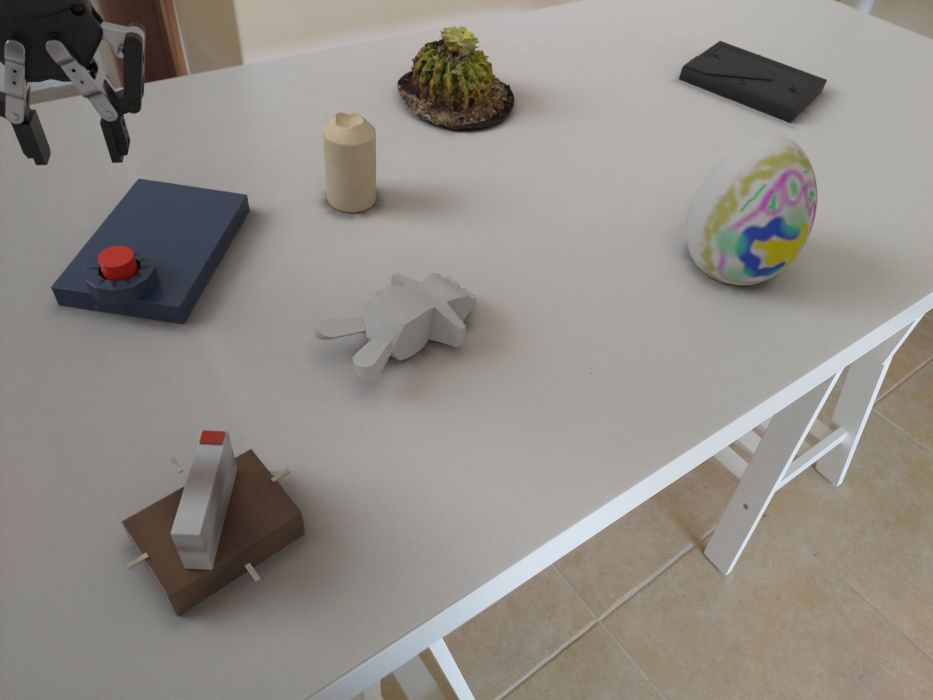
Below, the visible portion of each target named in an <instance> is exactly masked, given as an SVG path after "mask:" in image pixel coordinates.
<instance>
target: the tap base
mask: <svg viewBox="0 0 933 700" xmlns="http://www.w3.org/2000/svg"><path fill="white" fill-rule="evenodd" d="M235 461H236V465H237V473H236V477H235V481H234V485H233V489H232V493H231V497H230V501H229V505H228V509H227V513H226V517H225V521H224V525H223V529H222V533H221V537H220V541H219V545H218V549H217V553H216V557H215V561H214V565H213V569H212V570H206V569H185V568H184V565H183V563H182V560H181V558H180V556H179V553H178V551H177V548H176V546H175V544H174V541H173V539H172V536H171V534H170V533H171V530H172V527H173V524H174V520H175V517H176V514H177V510H178V507H179V504H180V501H181V497H182V494H183V491H184V488H185V485H184V486H182V487H181V488H178V489H177V490H174V491H173V492H171V493H169V494H168V495H166V496H165V497H162V498H161V499H159V500H157V501H155V502H154V503H152V504H150V505H148V506H146V507H145V508H143V509H141V510H139V511H138V512H136V513H134V514H132V515H130V516H129V517H127V518H125V519H123V520H122V521H121V525H122V527H123V528H124V531H125V532H126V535H127V537H128V539H129V540H130V543H131V544H132V546H133V548H134V549H135V551H136V553H137V554H138V557H136V558H134V559H133V560H131V561H129V562H128V563H126V564H125V566H126V568H127V570H130V569H132V568H134V567H135V566H137V565H139V564H140V563H143V564H144V566H145V567H146V569H147V570H148V572H149V573H150V575H151V577H152V578H153V581H154V582H155V583H156V585H157V587H158V588H159V590H160V591H161V593H162V595H163V596H164V598H165V600H166V601H167V603H168V604H169V606H170V608H171V609H172V611H173V613H174V614H175V616H176V617H179V616H180V615H182V614H183V613H185V612H187V611H188V610H190V609H191V608H192V607H194V606H196V605H197V604H199V603H200V602H202V601H204V600H205V599H206V598H208V597H209V596H212V594H214V593H216V592H217V591H219V590H220V589H222V588H223V587H225V586H226V585H228V584H230V583H231V582H232V581H234V580H236V579H237V578H239V577H241V576H242V575H243V574H245V573H247V572H248V573H249V575H250V576H251V578H252V579H253V580H254V582H255V583H257V582H258V581H260V580H261V577H260V575H259V574H258V573H257V571H256V569H255V568H254V567H256V566H257V565H259V564H260V563H262V562H263V561H265V560H266V559H268V558H269V557H271V556H272V555H274V554H276V553H277V552H279V551H280V550H282V549H283V548H285V547H287V546H288V545H289V544H291V543H293V542H294V541H296V540H298V539H299V538H300V537H303V535H305V534H306V532H305V525H304V518H303V512H302V511H301V509H300V508H299V506H298V505H297V504H296V503H295V502H294V500H293V499H292V498H291V497H290V495H289V494H288V493H287V492H286V491H285V489H284V488H283V486H282V485H281V484H280V483H279V482H278V481H279V480H281V479H282V478H284V477H286V476H288V475H289V474H291V471H290V470H289V468H286V469H285V470H283V471H281V472H279V473H277V474H276V475H273V474H272V473H271V471H269V469H268V468H267V467H266V465H265V464H264V463H263V462H262V460H261V459H260V458H259V457H258V455H257V454H256V453H255V452H254V450H253V449H252V448H250V449H248V450H246V451H245V452H243V453H241V454H239V455H238V456H236V457H235ZM169 462H170V463H171V464H172V466H173V467H174V469H175V471H177V473H178V474H180V473H182V472H184V469H183V467H182V466H181V464H179V462H178V460H177V459H176V457H172V458H170V459H169Z"/></svg>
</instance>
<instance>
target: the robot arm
mask: <svg viewBox="0 0 933 700" xmlns="http://www.w3.org/2000/svg"><path fill="white" fill-rule="evenodd" d="M146 34H147V33H146V28H145V27H144V25H142V24H141V23H140V22H137V21H132V22H130V23H129V24H128V25H127V26H126V25H121V24H118V23H112V22H108V21H104V19H103V17H102V16H101V14H100V13H99V12H98V11H97V10H96V9H95V7H94V5H93V4H92V1H91V0H0V63H1V64H2V65H3V66H4V80H3V81H4V85H3V89H4V90H3V91H1V90H0V117H1V118H3V119H5V120H6V121H8V122H9V123H10V125H11V127H12V129H13V132H14V134H15V137H16V140H17V141H18V144H19V146H20V149H21V151H22V154H24V156H25V157H26V158H27V159H33V161H34V164H35V165H36V166H48V164H49V162H50V158H51V155H52V152H51V147H50V144H49V142H48V138H47V137H46V134H45V131H44V127H43V125H42V123H41V120H40V117H39V115H38V112H37V109H32V108H31V101H32V84H33V83H43V82H46V81H50V80H53V81H57V82H63V83H72V84H73V85H74V87H75V88H76V90H77V91H78V93H80V95H81V96H82V98H85V99H88V101H89V102H90V104H91V105H92V107H93V108H94V109H95V110H96V112H97V113H98V114H99V116H100V120H99V125H100V128H101V131H102V135H103V138H104V141H105V145H106V147H107V150H108V154H109V158H110V161H111V163H112V164H119V163H121V164H123V162H124V159H125V156H126V157H127V156H128V155H129V151H130V145H131V141H132V140H131V137H130V133H129V130H128V127H127V123H126V119H125V116H124V115H126V114H132V115H133V114H138V113H139V112H141V110H142V105H143V103H142V102H143V98H144V95H145V77H146V76H145V75H146V74H145V70H146V69H145V67H146ZM102 41H105V42H107V43H108V44H109V45H110V47H111V49H112V53H113V54H114V56H115V57H117V58H118V59H120V60H123V85H122V86H123V87H122V89H120V90H117V89H116V88H115V86H114V85H113V83H112V82H111V81H110V79H109V78H108V76H107V73H106V70H105V68H104V66H103V65H102V63H101V62H100V60H99V59H98V58H97V56H96V55H95V54H96V52H97V50H98V49H99V47H100V45H101V42H102Z"/></svg>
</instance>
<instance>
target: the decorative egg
mask: <svg viewBox="0 0 933 700" xmlns="http://www.w3.org/2000/svg"><path fill="white" fill-rule="evenodd" d="M814 171H815V170H814V168H813V166H812V163H811V161H810V159H809V157H808V155H807V153H806V152H805V150H804V149H803V148H802V147H801V146H800V145H799V144H798V143H797V142H795V141H794V140H793V139H790V138H788V137H786V136H782V135H777V134H768V135H767V134H766V135H760V136H757V137H754V138H752V139H749V140H747V141H744V142H742V143H740V144H738V145H736V146H735V147H733V148H732V149H730V150H729V151H728V152H726V153H725V154H724V155H722V156H721V157H720V158H719V159H718V160H717V161H716V162H715V163H714V164H713V165H712V166H711V167H710V168H709V170H708V171H706V173H705V174H704V176H703V177H702V179H701V181H700V182H699V183H698V185H697V187H696V188H695V191H694V192H693V194H692V197H691V199H690V202H689V205H688V208H687V212H686V217H685V230H684V231H685V240H686V245H687V249H688V252H689V254H690V256H691V258H692V261H693V262H694V264H695V265H696V266H697V267H698V268H699V270H701V271H702V272H704V274H706V275H707V276H708V277H710V278H711V279H713V280H716V281H718V282H720V283H723V284H727V285H733V286H737V287H738V286H740V287H743V286H753V285H757V284H761V283H764V282H766V281H768V280H770V279H772V278H774V277H776V276H777V275H778V274H780V273H782V272H783V271H784V270H786V269H787V267H789V265H790V264H792V263H793V261H794V260H795V259H796V258H797V257H798V256H799V254H800V253H801V251H802V250H803V248H804V247H805V245H806V243H807V241H808V239H809V237H810V235H811V232H812V230H813V226H814V223H815V219H816V214H817V209H818V185H817V184H818V183H817V177H816V174H815V172H814Z"/></svg>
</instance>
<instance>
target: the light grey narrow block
mask: <svg viewBox="0 0 933 700" xmlns="http://www.w3.org/2000/svg"><path fill="white" fill-rule="evenodd" d="M235 458H236V457H235V453H234V450H233V446H232V441H231V438H230V434H229V431H228V430H227V431H226V430H207V429H206V430H205V429H204V430H203V429H202V430H201V432H200V435H199V438H198V442H197V445H196V448H195V452H194V454H193V458H192V462H191V464H190V468H189V471H188V473H187V478H186V481H185V484H184V486H185V488H184V491H183V494H182V497H181V501H180V504H179V507H178V510H177V514H176V517H175V520H174V524H173V527H172V530H171V533H170V534H171V536H172V539H173V541H174V544H175V546H176V548H177V551H178V553H179V556H180V558H181V560H182V563H183V565H184V568H185V569H206V570H212V569H213V565H214V561H215V557H216V553H217V549H218V545H219V541H220V537H221V533H222V529H223V525H224V521H225V517H226V513H227V509H228V505H229V501H230V497H231V493H232V489H233V485H234V481H235V477H236V473H237V465H236V461H235Z"/></svg>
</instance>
